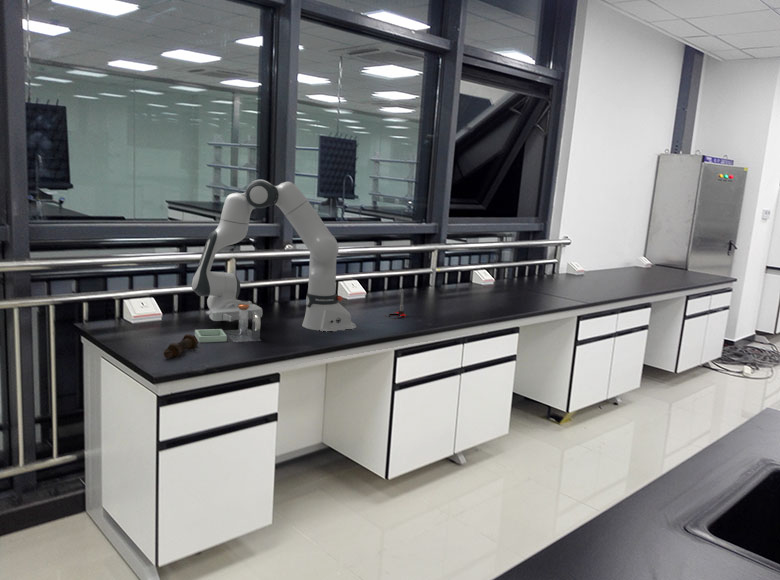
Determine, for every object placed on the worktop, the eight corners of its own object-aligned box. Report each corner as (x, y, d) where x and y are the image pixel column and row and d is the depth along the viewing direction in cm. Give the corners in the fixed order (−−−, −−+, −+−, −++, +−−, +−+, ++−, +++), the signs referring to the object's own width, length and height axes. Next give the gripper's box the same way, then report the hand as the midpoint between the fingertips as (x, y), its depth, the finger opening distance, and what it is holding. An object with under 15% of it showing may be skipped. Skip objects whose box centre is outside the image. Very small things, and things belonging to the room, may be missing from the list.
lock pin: (246, 331, 239) (247, 303, 237) (249, 334, 236) (250, 305, 234) (236, 332, 237) (237, 303, 235) (239, 334, 234) (239, 306, 232)
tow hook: (391, 320, 284) (408, 318, 290) (393, 292, 281) (409, 290, 287) (381, 316, 291) (397, 314, 296) (382, 289, 288) (398, 287, 293)
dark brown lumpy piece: (164, 365, 202) (189, 351, 217) (177, 359, 201) (200, 346, 215) (156, 349, 202) (181, 336, 216) (169, 343, 200) (193, 331, 215)
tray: (221, 336, 233) (221, 328, 232) (226, 343, 224) (226, 335, 224) (194, 337, 228) (194, 329, 228) (199, 345, 220) (199, 336, 220)
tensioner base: (250, 331, 243) (251, 306, 241) (260, 343, 229) (262, 316, 227) (224, 332, 238) (225, 307, 236) (233, 344, 224) (234, 317, 222)
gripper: (204, 303, 239) (217, 311, 229) (253, 300, 252) (268, 308, 241) (203, 319, 241) (217, 328, 230) (253, 315, 253) (268, 324, 242)
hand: (243, 317), depth 235 cm, fingers open, 8 cm apart
